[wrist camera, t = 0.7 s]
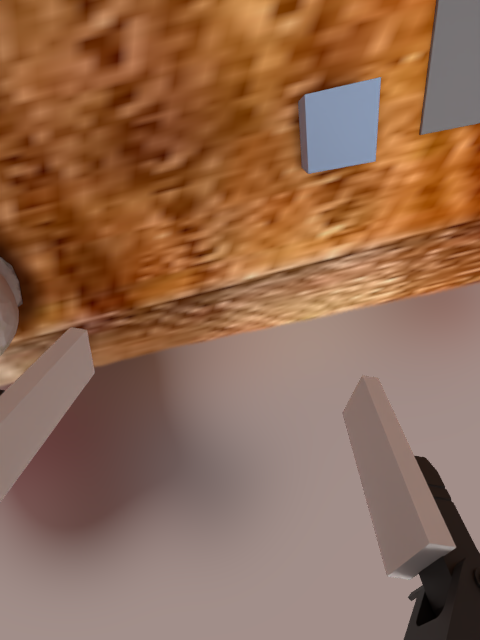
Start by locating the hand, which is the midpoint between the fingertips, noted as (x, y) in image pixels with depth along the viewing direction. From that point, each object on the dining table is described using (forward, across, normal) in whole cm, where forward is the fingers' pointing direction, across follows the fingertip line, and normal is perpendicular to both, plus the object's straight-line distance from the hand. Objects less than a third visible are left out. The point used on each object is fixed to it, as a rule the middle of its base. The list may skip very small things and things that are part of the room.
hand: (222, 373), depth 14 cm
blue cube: (+26, +7, +11) cm, 29 cm away
